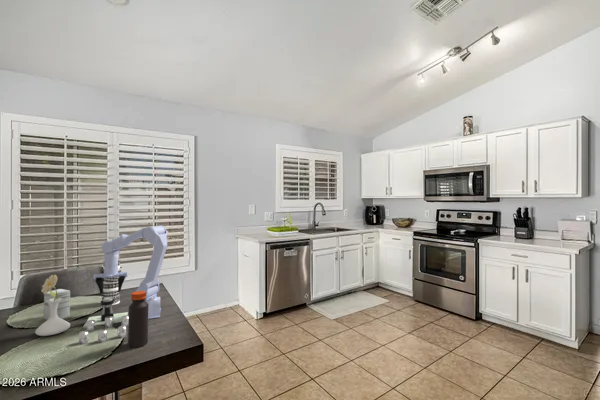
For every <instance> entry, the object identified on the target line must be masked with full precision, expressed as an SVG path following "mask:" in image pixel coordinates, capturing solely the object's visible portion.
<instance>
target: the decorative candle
mask: <svg viewBox="0 0 600 400" xmlns="http://www.w3.org/2000/svg"><path fill="white" fill-rule="evenodd" d="M104 261H105V259H104V260H103V262H104ZM121 269H122V266H121V258H119V257H118V272H122V270H121ZM103 273H104V265H103V267H101V274H103ZM118 278H120V277H113V278H104V281H103V293H101V296H102V297H101V301H102V300H103V299H104V298H107V297H112V299H114V303H113V304H112V306H115V305H118V304H120V303H121V301H120V300H121V295H120V294H121V291H120V292H118V286H119V284H118Z"/></svg>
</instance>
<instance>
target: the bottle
mask: <svg viewBox="0 0 600 400" xmlns="http://www.w3.org/2000/svg"><path fill="white" fill-rule="evenodd" d="M145 299H146V291H137V292H136V291H134V292H132V293H131V301H132V302H131V304H129V306H128V315H129V320H128V326H127V327H128V328H127V331H128V333H127V346H128V348H132V349H134V348H135V349H136V348H141V347H144V346H145V345H147V344H148V341H149V339H148V338H149V319H148V303H147V302H146V301H145Z"/></svg>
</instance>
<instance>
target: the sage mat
mask: <svg viewBox="0 0 600 400" xmlns="http://www.w3.org/2000/svg"><path fill="white" fill-rule="evenodd" d="M125 315H129V311H127V312H126V311H125V312H117V313H113V324H118V323H122V316H125ZM97 318H101V315H93V316H89V317H88V318H87V320H86V322H87V321H89V320H95V327H96V326H105V321H103V322H102V321H97V320H101V319H97ZM86 322H85V323H84V325H83V327H82V328H86Z"/></svg>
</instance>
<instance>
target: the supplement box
mask: <svg viewBox="0 0 600 400" xmlns="http://www.w3.org/2000/svg"><path fill="white" fill-rule="evenodd" d="M56 290H57V293H59V294H58V298H61V300H60V302H59V304H58V307H57V316H58V317H59V318H61V319H63V320H64V319H66V318H69V317H70V316H71V315H70V312H71V290H69V289H63V288H58V289H56ZM51 291H52V292H54V293H56V291H55V289H54V290H51ZM49 293H50V291H49V292H48V293H44V294H43V296H44V297H43V298H44V299H43V320H45V321H47V320H48V319H49V317H50V306H49V304H48V303H47V302H46V301H47V300H49V299H53V298H55V297H53V296H51V295H50V294H49Z"/></svg>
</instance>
